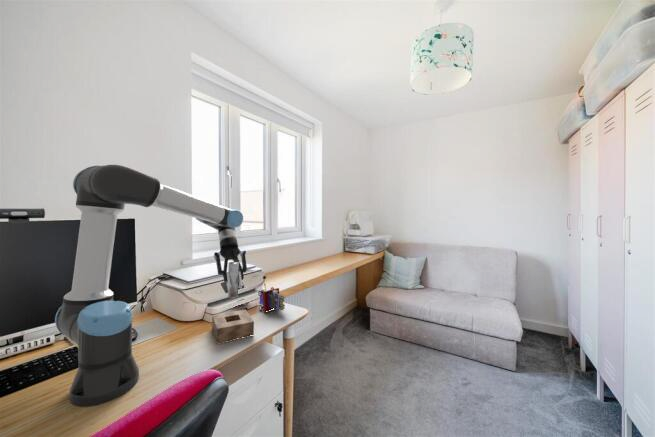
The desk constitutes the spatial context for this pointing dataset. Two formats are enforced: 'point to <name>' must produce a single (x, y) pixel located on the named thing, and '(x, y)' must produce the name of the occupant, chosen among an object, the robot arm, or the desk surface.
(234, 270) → the steel pin
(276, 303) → the robot toy
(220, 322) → the walnut socket block
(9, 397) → the desk surface
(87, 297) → the robot arm
